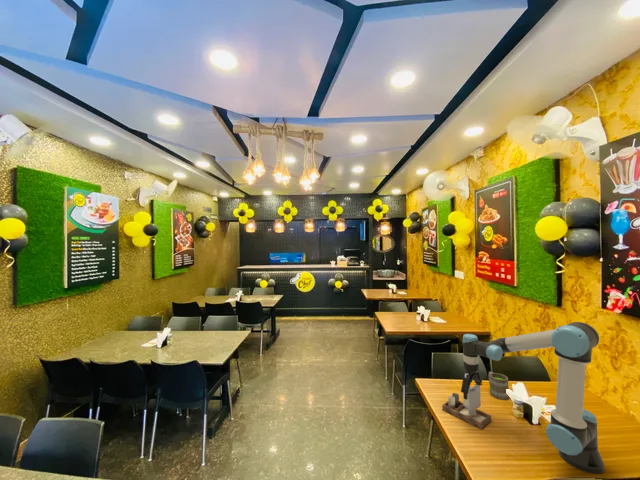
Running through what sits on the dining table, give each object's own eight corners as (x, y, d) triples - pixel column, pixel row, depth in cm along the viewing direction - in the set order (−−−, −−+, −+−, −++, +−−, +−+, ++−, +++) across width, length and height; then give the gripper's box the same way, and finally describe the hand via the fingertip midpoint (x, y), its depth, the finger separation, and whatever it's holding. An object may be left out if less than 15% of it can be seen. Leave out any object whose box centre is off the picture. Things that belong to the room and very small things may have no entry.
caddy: (491, 420, 152) (491, 406, 152) (481, 429, 145) (481, 414, 145) (452, 402, 170) (452, 389, 170) (442, 410, 163) (442, 396, 163)
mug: (513, 399, 172) (512, 380, 173) (496, 399, 173) (495, 380, 173) (497, 386, 188) (496, 369, 188) (481, 387, 188) (481, 369, 188)
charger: (481, 416, 154) (481, 390, 154) (470, 420, 151) (469, 393, 151) (474, 412, 158) (473, 386, 159) (462, 415, 155) (462, 389, 155)
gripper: (474, 355, 166) (475, 390, 165) (453, 366, 151) (454, 405, 150) (487, 358, 160) (489, 395, 159) (467, 370, 145) (468, 411, 144)
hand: (472, 400), depth 155 cm, fingers open, 13 cm apart
